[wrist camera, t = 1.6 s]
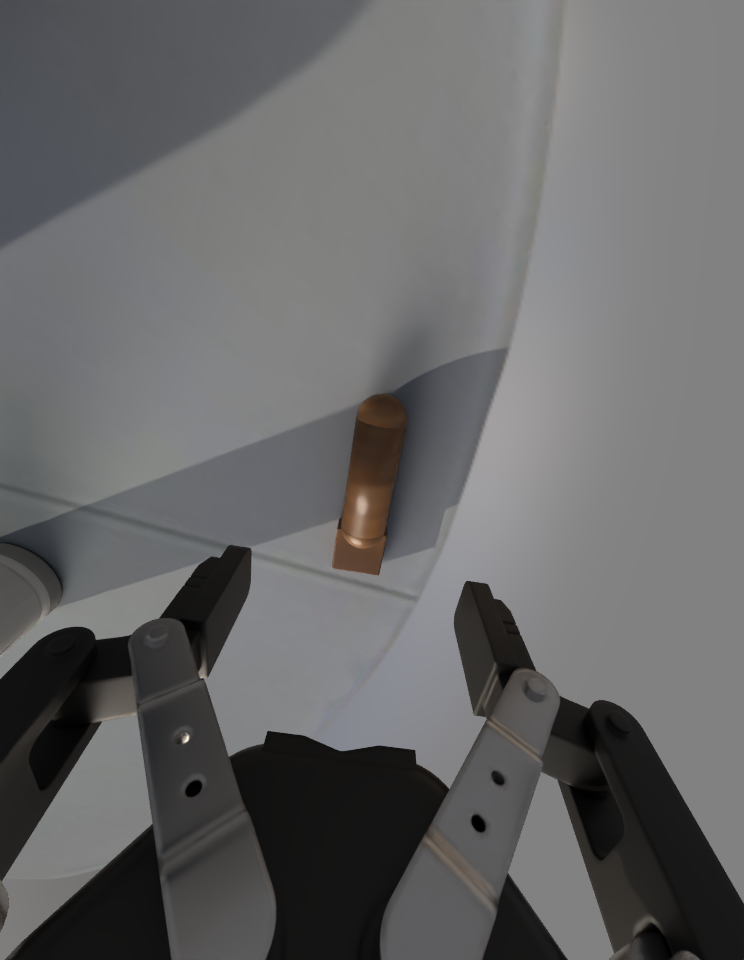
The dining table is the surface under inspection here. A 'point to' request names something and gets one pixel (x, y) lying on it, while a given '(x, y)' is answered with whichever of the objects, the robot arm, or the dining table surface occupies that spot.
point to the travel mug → (24, 593)
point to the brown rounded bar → (370, 484)
